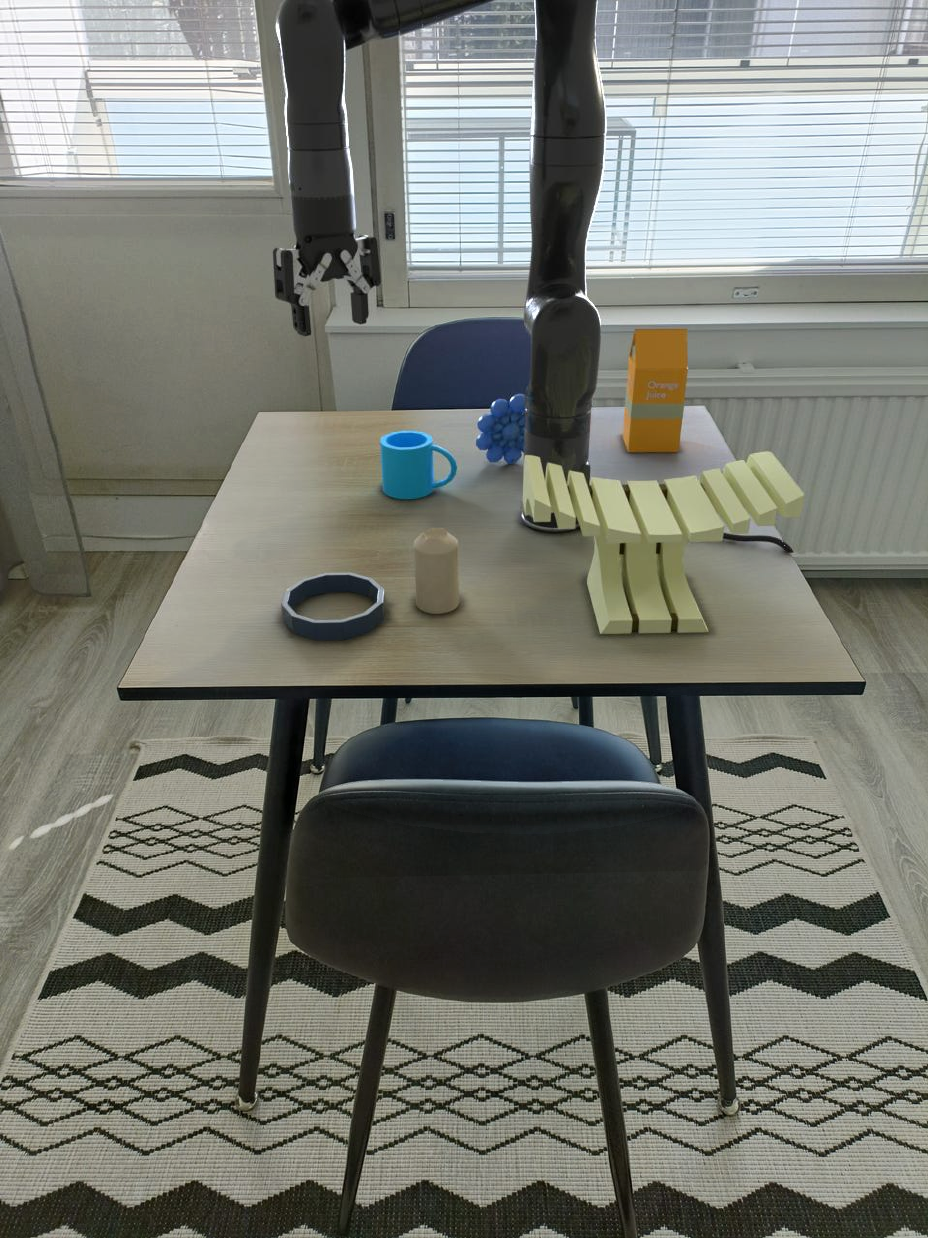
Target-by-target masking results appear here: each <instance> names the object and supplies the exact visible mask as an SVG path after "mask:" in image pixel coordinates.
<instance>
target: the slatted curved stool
mask: <svg viewBox="0 0 928 1238" xmlns="http://www.w3.org/2000/svg"><path fill="white" fill-rule="evenodd" d="M699 476H700V477H699V479H698V477H697V475H690V476H689V475H688V476H682V477H675V478H674V477H673V478H666V479H665V478H664V479H663V482H662V483H659V482H658V481H657V479H654V480H653V479H652V480H626V484H622V481H621V480H620V479H611V478H602V477H596V476H595V477H594V476H590V484H589V485H587V483H586V480H585V477H584V474H583V473H580V472H575V471H570V470H569V474H568V482H567V484H566V480H565V477H564V473H563V469H562V466H560V465H556V464H552V463H547V467H546V478H544V474H543V469H542V465H541V461H540V457H537V456H533V455H525V459H524V458H523V476H522V477H523V478H522V479H523V481H522V502H523V506H524V512H525V516H526V515H530V514H532V515H533V521H534V522H550V521H551V513H554V514H555V517H556V521H557V525H558V529H574V530H576V529H575V522H576V517H577V519H578V522H579V525H580V527H579V528H580V532H581V534H582V537H593V539H594V550H593V557H592V560H591V564H590V568H589V571H588V574H587V579H586V585H587V588H588V592H589V596H590V597H589V598H590V600H591V604H592V605H591V606H592V608H593V612H594V615H595V620H596V624H597V627H598V631H599V634H600V635H610V634H611V635H619V634H620V635H621V634H625V635H627V634H632V631H638V634H668V633H669V634H670V633H671V631H672V630H673V631H674V630H676V631H677V633H683V634H685V633H687V634H689V633H710V631H709V628H708V627H707V624H706V622H705V620H704V618H703V615H702V613H701V610H700V609H699V606H698V604H697V602H696V599H695V598H694V595H693V593H692V590H691V588H690V586H689V583H688V580H687V576H686V573H685V569H684V568H685V567H684V553H685V552H684V551H685V548H686V545H687V543H688V542H689V543H698V542H699V543H706V542H710V543H711V542H713V543H717V542H723V540H724V539H723V533H725V526H726V527H727V529H728V530H729V532H730V534H734V535H749V530H750V525H751V519H752V520H753V521H754V523H755V524H756V526H757V527H771V526H772V527H774V526H775V524H776V519H777V512H779V514H780V516H782V518H783V519H801V517H802V512H803V508H804V501H805V497H806V496H805V495H806V494H805V493H804V491H803V490H802V489H801V488H800V487H799V485H798V484H797V483H796V481H795V480H794V479H793V478H792V476H791V475H790V474H789V472H788V471H787V470H786V469H785V468H784V466H783V465H782V463H781V462H780V461H779V460H778V458H777V457H776V456H775V455H774V453H773V452H771V451H759V452H753V453H750V454H749V455H748V457H747V459H746V461H745V460H744V459H740V460H734V461H729V462H726V463H725V464H724V466H723V469H722V471H721V469H720V468H719V467H716V468H712V469H708V470H702V471H701V473H700V475H699ZM575 516H576V517H575ZM724 524H725V525H724ZM630 610H631V611H630Z"/></svg>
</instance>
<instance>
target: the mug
mask: <svg viewBox="0 0 928 1238" xmlns="http://www.w3.org/2000/svg"><path fill="white" fill-rule="evenodd" d="M433 439H434V438H433V437H432V436H431V434H428V433H426V432H423V431H417V430H399V431H394V432H389V433H387V434H385V435H383V436H382V437H380V441H379V445H380V446H379V447H380V463H381V480H382V482H381V483H382V491H383V493H384V494H385V495H386V496H388V497H391V498H393V499H398V500H399V499H400V500H416V499H420V498H424V497H426V496H429V495H431V494H432V493H433V492H434V490H435V489H437V488H441V487H443V486H446V485H447V484H449V483H451V482H452V481H453V479H454V478H455V477H456V475H457V471H458V465H457V460H456V459H455V457H454V456H453V454H452V453H451V452H449V451H448V450H447V449H445V448H444V447H441V446H439V445H435V444H434V442H433V441H434V440H433ZM434 451H435V452H436V453H439V454H441V455H442V456H444V457H445V458H446V459H447V461H448V463H449V465H450V472H449V474H448V475H447V477H445V478H444V479H442V480H440V481H436V482H435V475H434V473H435V471H434Z"/></svg>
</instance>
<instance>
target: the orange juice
mask: <svg viewBox="0 0 928 1238" xmlns="http://www.w3.org/2000/svg"><path fill="white" fill-rule="evenodd" d="M688 361H689V359H688V328H635V329H634V333H633V337H632V342H631V347H630V350H629V355H628V362H627V363H628V366H627V377H626V388H625V399H624V415H623V425H622V426H623V427H622V439H623V441H624V444H625V445H624V446H625V448H626V451H627V453H673V452H674V453H679V451H680V442H681V434H682V424H683V417H684V409H685V399H686V388H687V382H688V381H687V379H688V374H689V373H688V372H689V366H688V365H689V364H688V363H689V362H688Z"/></svg>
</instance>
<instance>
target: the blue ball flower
mask: <svg viewBox="0 0 928 1238" xmlns="http://www.w3.org/2000/svg"><path fill="white" fill-rule="evenodd" d="M476 426H477V429H478V430H479V432H481V433H480V434H478V436H477V438H476V440H475V446H476V447H477V449H479V451H486V453H485V457H486V459H487V461H488V462H489V463H494V464H495V463H498V462H500V461H501V460H502V459H503V460H504V462H506V464H509V465H514V464H516V463H518V462H519V461H520V459H521V457H522V453H523V454H524V432H525V394H523V393H516V394H515V395H513V396H512V397H511V398H510V400H509V402H508V401H507V399H506V398H498V399H496V400H495V401H493V402H492V404H491V405H490V413H485V414H483V415H481V416H480V417H479V419H478V421H477V425H476Z"/></svg>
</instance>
